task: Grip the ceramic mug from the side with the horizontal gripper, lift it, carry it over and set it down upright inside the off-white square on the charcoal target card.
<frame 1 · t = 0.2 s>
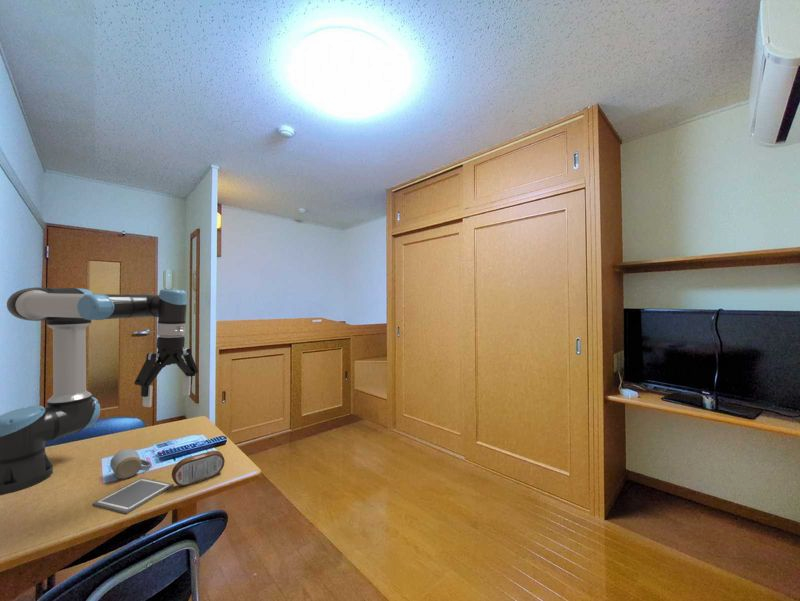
hand: (167, 400, 107), 27 cm above the table, tool pointing down, fingers open, 13 cm apart
ceramic mug: (131, 473, 113), on the table
target card: (135, 495, 100), on the table
tin: (199, 480, 108), on the table
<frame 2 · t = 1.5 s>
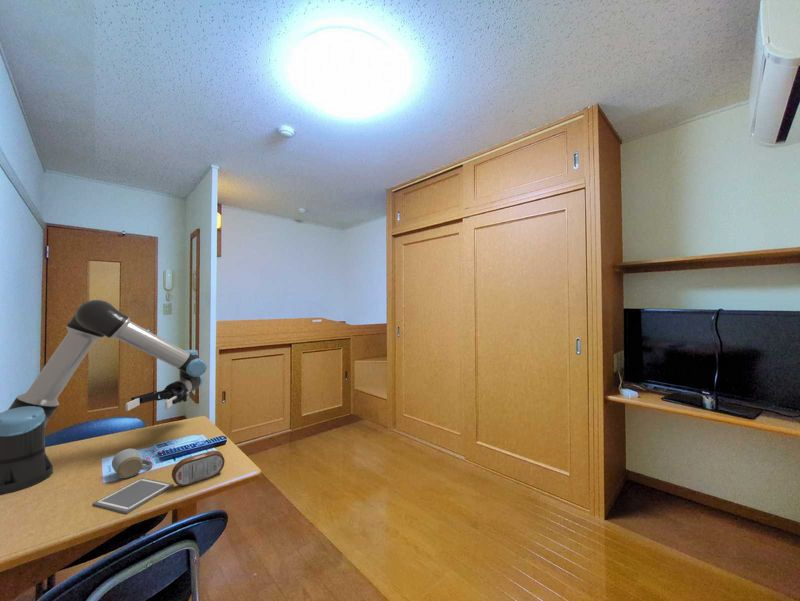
hand: (146, 406, 121), 20 cm above the table, tool horizontal, fingers open, 13 cm apart
nothing on the table moved.
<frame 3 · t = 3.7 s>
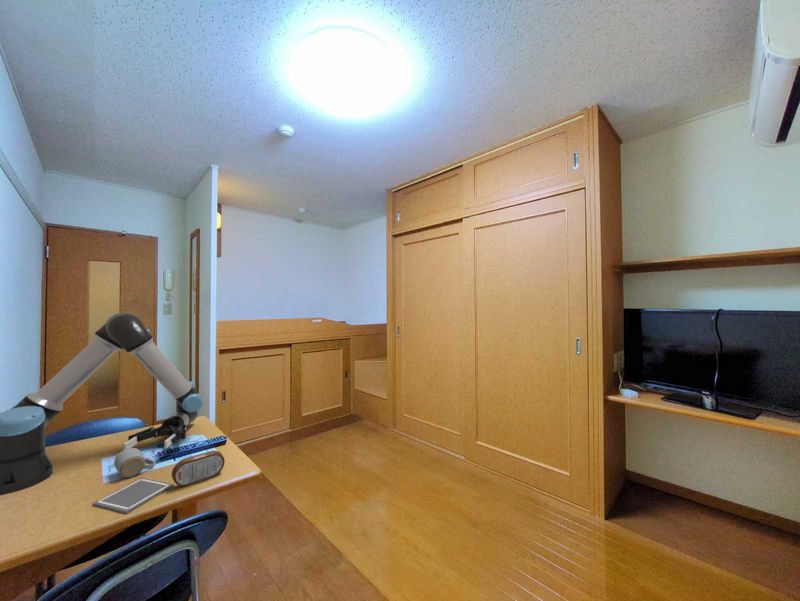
hand: (145, 446, 120), 6 cm above the table, tool horizontal, fingers open, 13 cm apart
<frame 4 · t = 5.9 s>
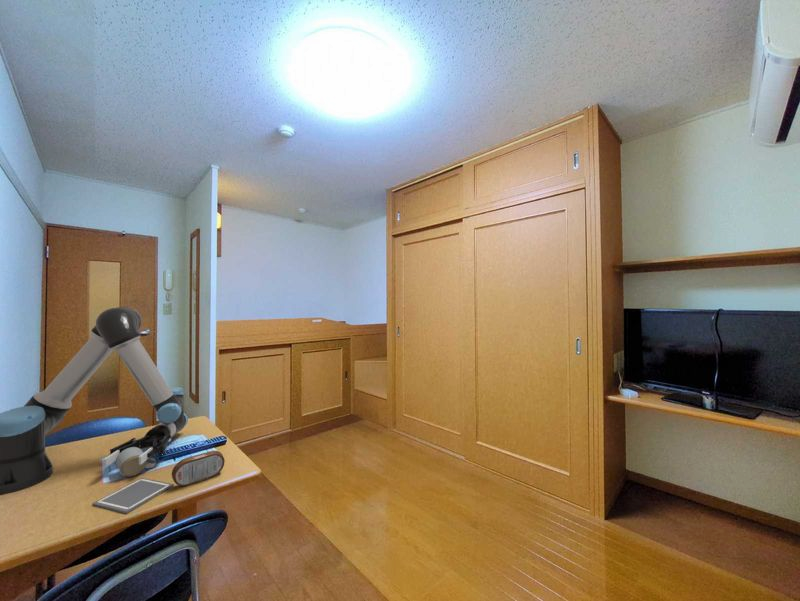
hand: (122, 461, 108), 6 cm above the table, tool horizontal, fingers closed on ceramic mug, 10 cm apart
ceramic mug: (136, 471, 114), on the table, touching gripper
everything else where it was.
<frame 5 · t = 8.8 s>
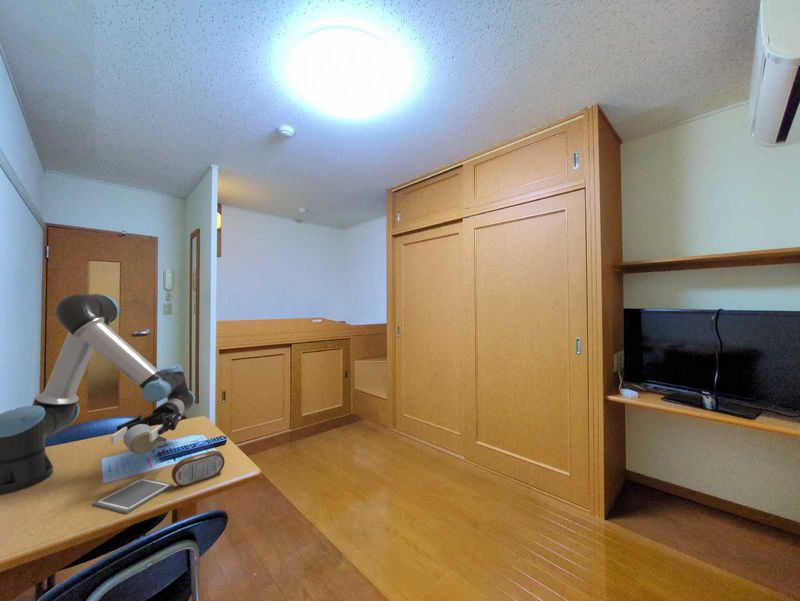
hand: (131, 438, 101), 17 cm above the table, tool horizontal, fingers closed on ceramic mug, 10 cm apart
ceramic mug: (146, 449, 106), point 11 cm above the table, touching gripper
everything else where it was.
when the fingers open (8 cm above the table, at t = 11.6 s): ceramic mug drops 1 cm, resting on target card.
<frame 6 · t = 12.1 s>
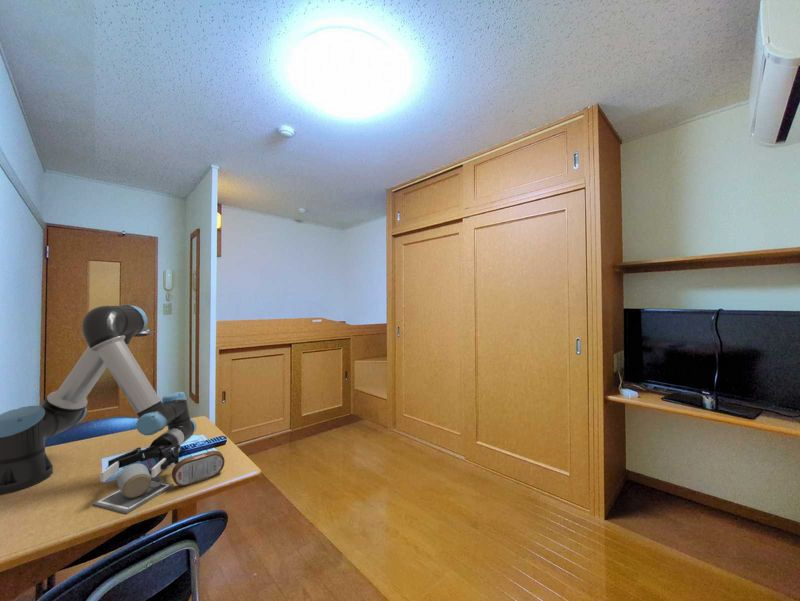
hand: (127, 475, 96), 8 cm above the table, tool horizontal, fingers open, 13 cm apart
ceramic mug: (140, 491, 101), resting on target card
everything else where it was.
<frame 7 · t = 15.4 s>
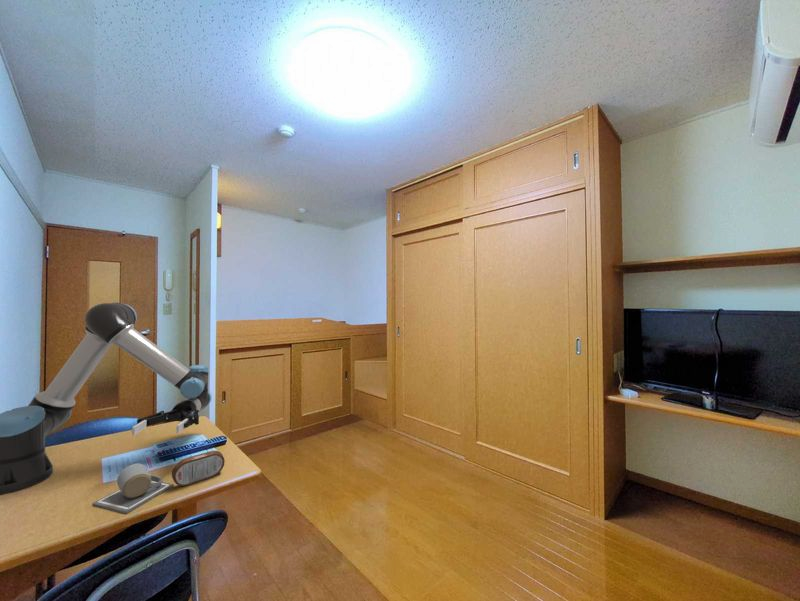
hand: (155, 430, 109), 16 cm above the table, tool horizontal, fingers open, 13 cm apart
nothing on the table moved.
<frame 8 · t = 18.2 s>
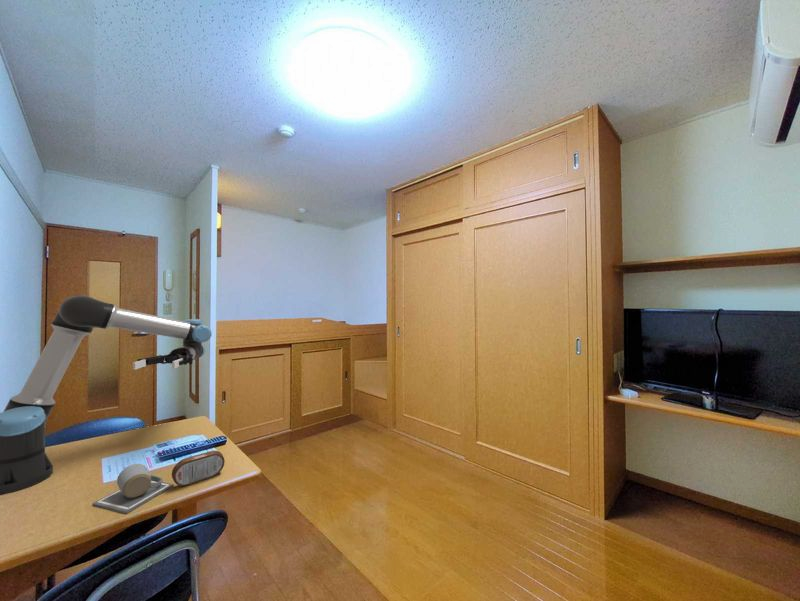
hand: (153, 365, 124), 35 cm above the table, tool horizontal, fingers open, 13 cm apart
nothing on the table moved.
at the end: ceramic mug inside the target area on the target card (1.5 cm from its centre), point 0.4 cm above the target card's base; ceramic mug tilted 1°; the gripper is holding nothing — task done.
